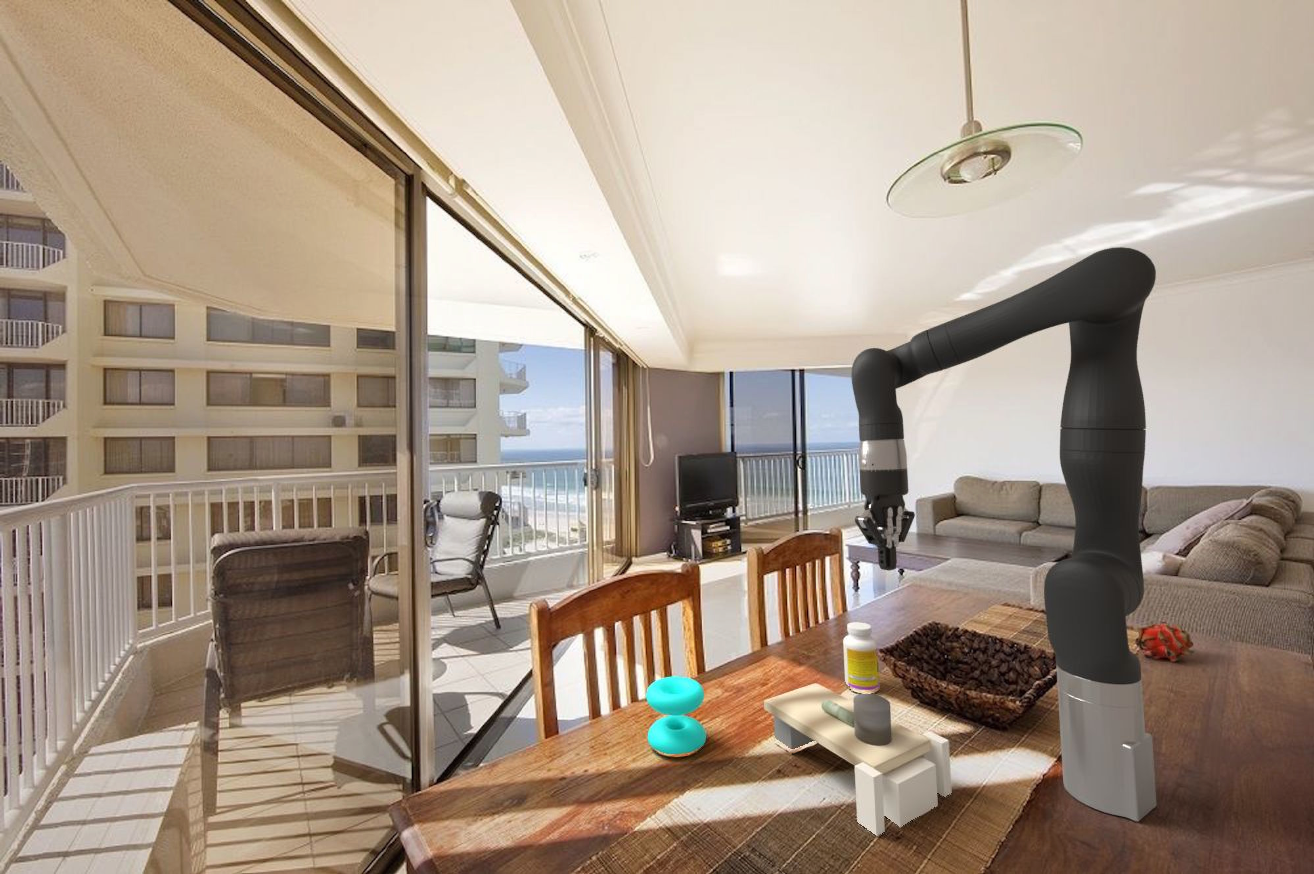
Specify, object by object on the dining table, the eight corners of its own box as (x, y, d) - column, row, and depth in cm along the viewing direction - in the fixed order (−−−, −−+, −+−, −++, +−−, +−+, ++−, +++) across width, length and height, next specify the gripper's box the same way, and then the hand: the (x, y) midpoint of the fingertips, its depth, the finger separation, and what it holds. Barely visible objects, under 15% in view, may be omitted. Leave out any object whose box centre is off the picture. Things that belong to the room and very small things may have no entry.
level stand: (955, 795, 75) (952, 741, 76) (879, 839, 67) (876, 779, 68) (825, 723, 96) (823, 681, 96) (756, 750, 88) (754, 705, 89)
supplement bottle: (885, 695, 106) (881, 630, 107) (851, 696, 107) (848, 631, 107) (872, 680, 113) (869, 619, 113) (840, 681, 113) (837, 620, 114)
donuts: (692, 670, 98) (712, 693, 88) (694, 725, 97) (715, 754, 88) (639, 678, 95) (654, 703, 86) (642, 735, 95) (656, 766, 85)
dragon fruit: (1197, 665, 118) (1146, 676, 118) (1161, 632, 125) (1113, 642, 125) (1215, 642, 113) (1162, 654, 113) (1177, 609, 120) (1127, 620, 120)
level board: (930, 750, 76) (928, 704, 76) (874, 777, 70) (872, 728, 71) (815, 691, 95) (814, 654, 96) (764, 709, 90) (762, 670, 90)
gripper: (875, 468, 84) (881, 579, 83) (927, 465, 90) (933, 567, 90) (838, 468, 91) (843, 570, 90) (889, 465, 97) (894, 560, 96)
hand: (888, 569), depth 90 cm, fingers closed
